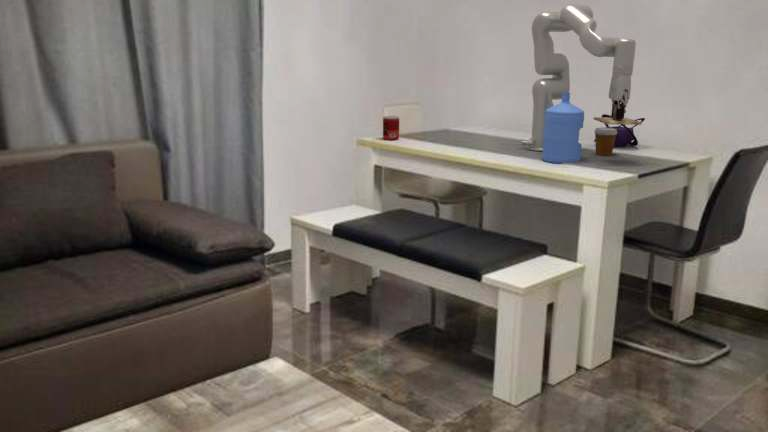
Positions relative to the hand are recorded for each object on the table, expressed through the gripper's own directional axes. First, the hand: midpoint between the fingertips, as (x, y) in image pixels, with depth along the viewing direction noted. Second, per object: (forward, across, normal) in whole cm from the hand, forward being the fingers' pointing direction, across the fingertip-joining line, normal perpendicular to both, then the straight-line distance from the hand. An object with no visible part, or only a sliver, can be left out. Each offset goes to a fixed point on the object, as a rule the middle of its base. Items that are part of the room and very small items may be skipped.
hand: (617, 117), depth 289 cm
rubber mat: (+19, +1, 0) cm, 19 cm away
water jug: (+20, -8, -19) cm, 28 cm away
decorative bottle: (+20, -44, +21) cm, 53 cm away
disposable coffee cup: (+19, -17, +3) cm, 26 cm away
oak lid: (+2, 0, 0) cm, 2 cm away
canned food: (+21, -69, -83) cm, 110 cm away
